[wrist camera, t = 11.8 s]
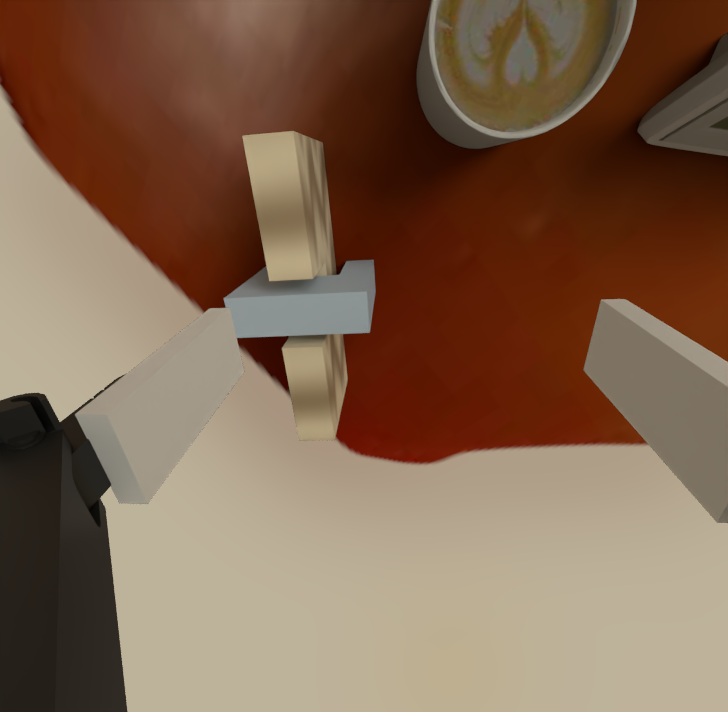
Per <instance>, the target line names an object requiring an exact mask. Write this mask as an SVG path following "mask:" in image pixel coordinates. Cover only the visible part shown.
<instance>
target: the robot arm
mask: <svg viewBox="0 0 728 712" xmlns="http://www.w3.org/2000/svg"><path fill="white" fill-rule="evenodd" d="M584 371H585V373H586V374H587V375H588V376H589V377H590V378H591V379H592V381H593V382H594V383H595V384H596V385H597V386H598V387H599V388H600V390H601V391H602V392H603V393H604V394H605V395H606V396H607V398H608V399H609V400H610V401H611V402H612V403H613V404H614V406H615V407H616V408H617V409H618V410H619V411H620V412H621V414H622V415H623V416H624V417H625V418H626V419H627V420H628V422H629V423H630V424H631V425H632V426H633V427H634V428H635V430H636V431H637V432H638V433H639V434H640V435H641V436H642V437H643V439H644V440H645V441H646V442H647V443H648V444H649V445H650V447H651V448H652V449H653V450H654V451H655V452H656V453H657V454H658V456H659V457H660V458H661V459H662V460H663V461H664V463H665V464H666V465H667V466H668V467H669V468H670V469H671V470H672V472H673V473H674V474H675V475H676V476H677V477H678V478H679V480H680V481H681V482H682V483H683V484H684V485H685V486H686V488H687V489H688V490H689V491H690V492H691V493H692V494H693V496H695V498H696V499H697V500H698V501H699V502H700V503H701V505H702V506H703V507H704V508H705V509H706V510H707V511H708V512H709V514H710V515H711V516H712V517H713V518H714V520H715V521H716V522H718V523H728V362H727V361H725V360H723V359H722V358H720V357H719V356H717V355H715V354H714V353H712V352H710V351H709V350H707V349H706V348H704V347H702V346H701V345H699V344H697V343H696V342H694V341H693V340H691V339H689V338H688V337H686V336H684V335H683V334H681V333H680V332H678V331H676V330H675V329H673V328H671V327H670V326H668V325H667V324H665V323H663V322H662V321H660V320H658V319H657V318H655V317H654V316H652V315H650V314H649V313H647V312H645V311H644V310H642V309H640V308H639V307H637V306H636V305H634V304H632V303H631V302H629V301H627V300H626V299H605V300H601V302H600V306H599V310H598V314H597V318H596V322H595V326H594V330H593V334H592V338H591V342H590V346H589V350H588V354H587V358H586V362H585V366H584ZM243 373H244V368H243V363H242V359H241V355H240V350H239V346H238V342H237V337H236V333H235V329H234V324H233V320H232V316H231V311H230V308H210V309H209V310H207V311H206V312H205V313H203V314H202V315H201V316H200V317H198V318H197V319H196V320H195V321H193V322H192V323H191V324H190V325H188V326H187V327H186V328H184V329H183V330H182V331H180V333H178V334H177V335H175V336H174V337H173V338H172V339H170V340H169V341H168V342H166V343H165V344H164V345H163V346H161V347H160V348H159V349H157V350H156V351H155V352H154V353H152V354H151V355H150V356H149V357H147V358H146V359H145V360H144V361H142V362H141V363H140V364H138V365H137V366H136V367H134V368H133V369H132V370H131V371H129V372H128V373H127V374H125V375H123V376H121V377H119V378H117V379H116V380H114V381H113V382H112V383H110V384H109V385H108V386H107V387H105V388H104V390H101V391H100V392H99V393H97V394H96V395H95V396H94V399H90V400H88V401H87V402H86V403H85V404H83V405H82V406H81V407H79V408H78V409H77V410H76V411H74V412H73V413H72V414H70V415H69V416H68V417H67V418H65V419H64V420H63V421H61V422H59V420H58V418H57V416H56V415H55V413H54V411H53V409H52V407H51V405H50V403H49V401H48V400H47V398H46V396H45V395H44V394H40V393H28V394H23V395H17V396H13V397H10V398H7V399H4V400H1V401H0V712H127V706H126V695H125V686H124V677H123V667H122V658H121V649H120V640H119V630H118V621H117V612H116V602H115V594H114V584H113V575H112V565H111V556H110V547H109V538H108V528H107V519H106V510H105V507H104V505H103V503H102V501H101V499H100V497H101V496H102V495H103V494H104V493H105V492H106V491H107V489H108V488H109V487H110V486H111V487H112V490H113V492H114V494H115V496H116V498H117V499H118V502H119V503H130V504H148V503H149V502H150V500H151V499H152V498H153V496H154V495H155V493H156V492H157V491H158V489H159V488H160V487H161V485H162V484H163V483H164V481H165V480H166V478H167V477H168V476H169V474H170V473H171V472H172V470H173V469H174V467H175V466H176V465H177V463H178V462H179V461H180V459H181V458H182V457H183V455H184V454H185V452H186V451H187V450H188V448H189V447H190V446H191V444H192V443H193V441H194V440H195V439H196V437H197V436H198V435H199V433H200V432H201V430H202V429H203V428H204V426H205V425H206V424H207V422H208V421H209V420H210V418H211V416H213V414H214V413H215V411H216V410H217V409H218V407H219V406H220V404H221V403H222V402H223V400H224V399H225V398H226V396H227V395H228V394H229V392H230V391H231V390H232V388H233V387H234V385H235V384H236V383H237V381H238V380H239V378H240V377H241V376H242V374H243Z"/></svg>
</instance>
